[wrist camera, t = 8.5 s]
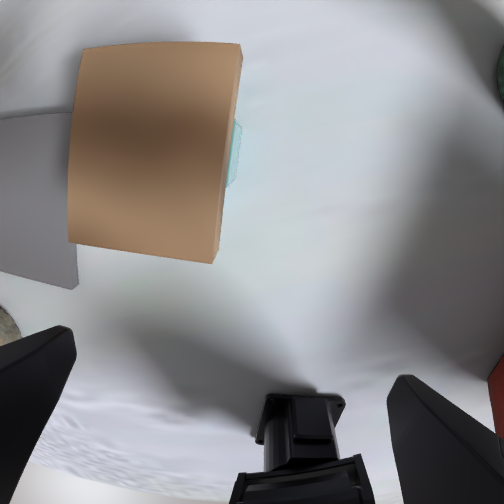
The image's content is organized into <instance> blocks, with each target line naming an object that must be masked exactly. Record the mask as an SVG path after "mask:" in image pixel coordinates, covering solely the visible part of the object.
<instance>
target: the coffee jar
mask: <svg viewBox="0 0 504 504" xmlns="http://www.w3.org/2000/svg"><path fill="white" fill-rule="evenodd" d="M497 80H498V85H499V91H500V94H501V97H502V99H503V101H504V46H503V49H502V52H501V54H500V57H499V61H498V68H497Z"/></svg>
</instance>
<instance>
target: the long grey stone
mask: <svg viewBox="0 0 504 504" xmlns="http://www.w3.org/2000/svg"><path fill="white" fill-rule="evenodd" d="M18 339H21V333H20V332H19V329H18V327H17V326H16V324H15V322H14V320H13V319H12V317H11V316H10V315H9V314H8V313H5V311H4V310H3V309H1V308H0V346H2V345H5V344H7V343H10V342H13V341H16V340H18Z"/></svg>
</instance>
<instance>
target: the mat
mask: <svg viewBox="0 0 504 504" xmlns="http://www.w3.org/2000/svg"><path fill="white" fill-rule="evenodd" d="M72 114H73V112H65V113H52V114H41V115H32V116H23V117H15V118H8V119H1V120H0V271H2V272H6V273H9V274H13V275H16V276H20V277H24V278H27V279H31V280H35V281H39V282H42V283H46V284H50V285H54V286H58V287H62V288H67V289H71V290H72V289H74V288H75V287H76V286H77V285H78V284H79V282H78V270H77V256H76V243H69V241H68V208H67V194H68V161H69V146H70V133H71V123H72Z"/></svg>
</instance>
